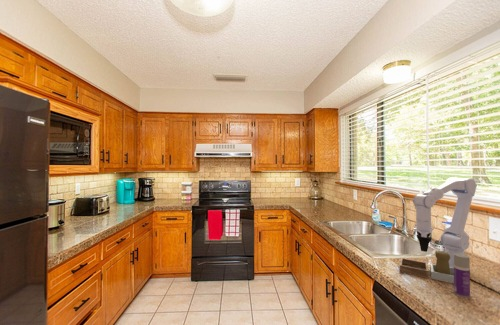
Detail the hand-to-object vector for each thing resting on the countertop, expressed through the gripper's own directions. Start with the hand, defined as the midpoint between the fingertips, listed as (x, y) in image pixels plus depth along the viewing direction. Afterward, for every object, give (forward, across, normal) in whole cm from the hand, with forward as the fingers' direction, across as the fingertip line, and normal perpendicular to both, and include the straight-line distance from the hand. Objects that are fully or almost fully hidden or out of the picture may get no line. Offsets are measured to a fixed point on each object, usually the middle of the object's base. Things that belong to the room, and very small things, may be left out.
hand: (423, 248), depth 114 cm
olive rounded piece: (+10, +3, +7) cm, 13 cm away
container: (+10, +18, +11) cm, 23 cm away
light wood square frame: (+10, +2, -4) cm, 11 cm away
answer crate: (+10, +2, +8) cm, 13 cm away
